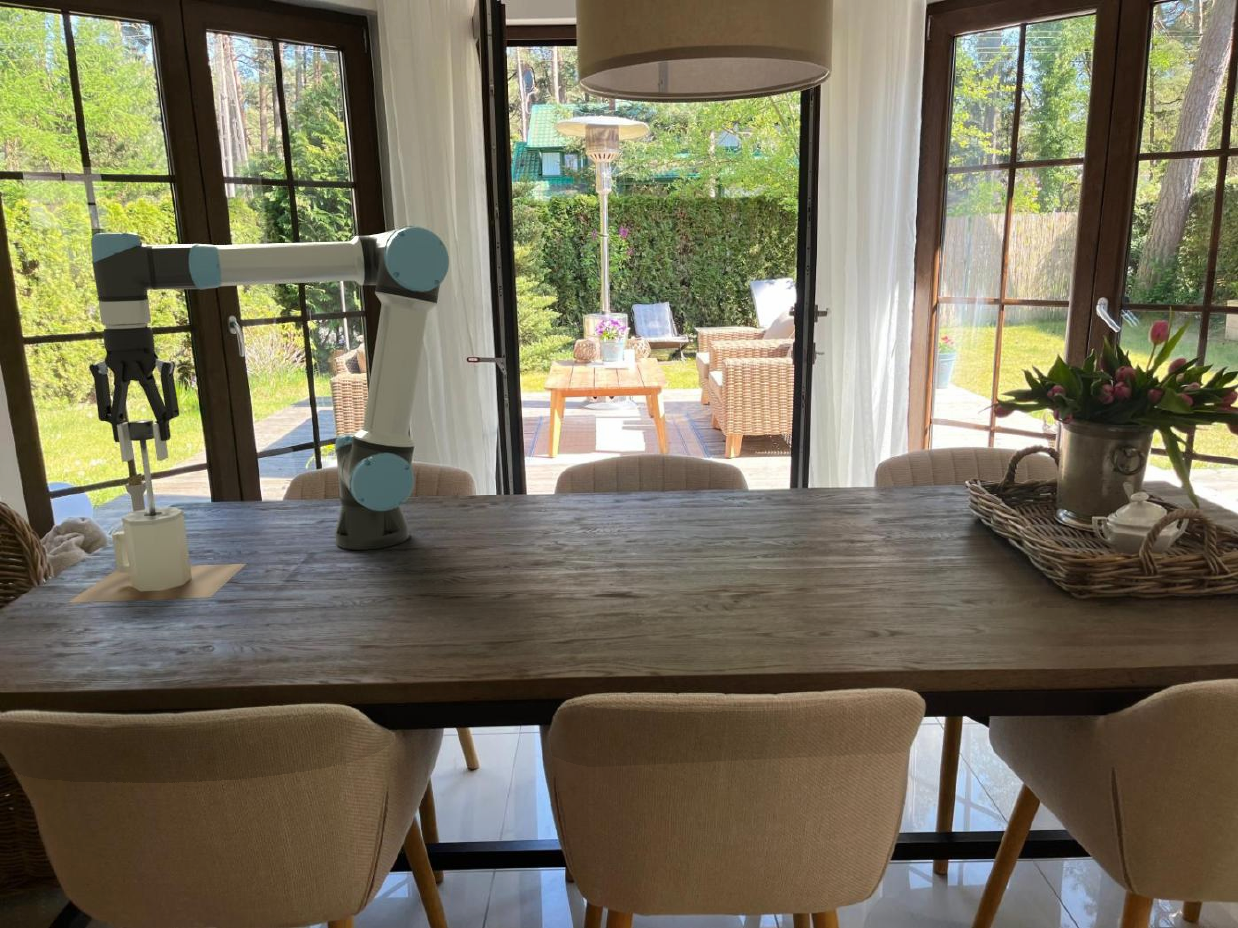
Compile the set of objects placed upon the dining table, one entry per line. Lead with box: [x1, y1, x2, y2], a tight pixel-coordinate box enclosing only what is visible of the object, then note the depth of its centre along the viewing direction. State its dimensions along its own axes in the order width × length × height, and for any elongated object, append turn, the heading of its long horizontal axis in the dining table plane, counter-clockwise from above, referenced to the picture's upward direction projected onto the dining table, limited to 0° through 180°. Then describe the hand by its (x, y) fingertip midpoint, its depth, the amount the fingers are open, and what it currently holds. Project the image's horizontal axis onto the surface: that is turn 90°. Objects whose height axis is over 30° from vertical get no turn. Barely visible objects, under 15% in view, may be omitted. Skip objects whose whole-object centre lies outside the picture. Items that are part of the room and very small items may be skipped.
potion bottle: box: [124, 473, 146, 512], centre depth 180 cm, size 9×9×18 cm
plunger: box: [127, 419, 156, 516], centre depth 160 cm, size 4×4×20 cm
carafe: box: [111, 506, 192, 591], centre depth 163 cm, size 12×9×13 cm
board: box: [67, 563, 247, 604], centre depth 165 cm, size 24×18×2 cm
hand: (145, 459), depth 160 cm, fingers open, 5 cm apart
